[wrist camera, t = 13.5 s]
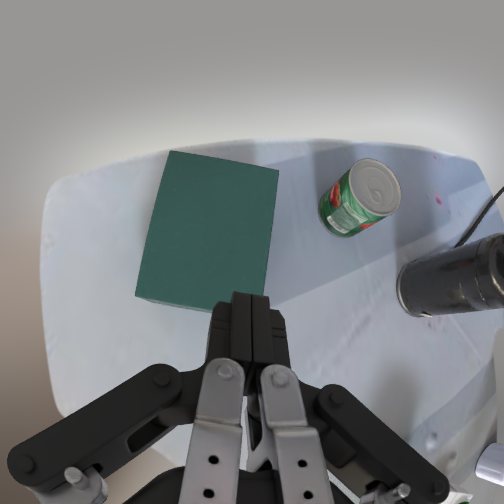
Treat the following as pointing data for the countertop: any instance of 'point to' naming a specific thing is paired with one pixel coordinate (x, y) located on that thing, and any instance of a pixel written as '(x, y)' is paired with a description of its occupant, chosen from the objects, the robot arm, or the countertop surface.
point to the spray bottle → (492, 464)
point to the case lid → (208, 231)
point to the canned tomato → (359, 198)
